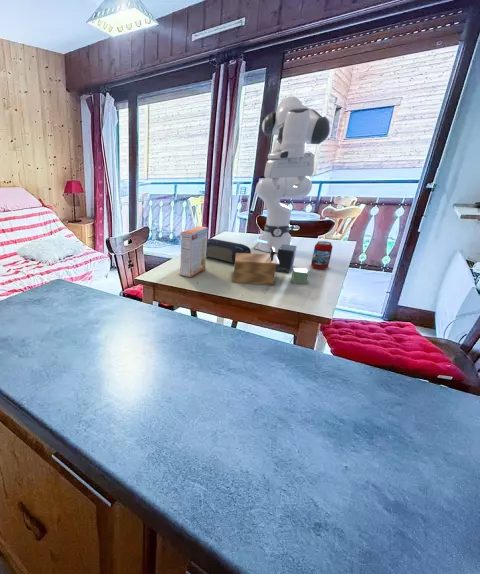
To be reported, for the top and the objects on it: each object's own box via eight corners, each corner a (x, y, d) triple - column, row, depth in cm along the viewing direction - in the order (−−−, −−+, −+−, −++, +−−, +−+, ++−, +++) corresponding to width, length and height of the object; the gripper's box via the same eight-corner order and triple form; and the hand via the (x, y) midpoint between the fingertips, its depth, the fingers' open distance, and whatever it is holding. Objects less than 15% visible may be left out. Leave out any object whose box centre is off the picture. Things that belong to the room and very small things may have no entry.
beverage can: (309, 268, 152) (314, 243, 148) (312, 264, 157) (317, 240, 152) (326, 271, 148) (331, 245, 143) (329, 266, 152) (334, 242, 148)
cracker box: (194, 267, 162) (196, 225, 154) (205, 269, 158) (208, 227, 150) (178, 275, 153) (180, 231, 146) (190, 277, 149) (192, 233, 141)
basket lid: (276, 256, 143) (278, 245, 141) (279, 265, 132) (281, 253, 131) (235, 254, 149) (236, 243, 147) (235, 262, 139) (236, 251, 137)
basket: (270, 275, 147) (273, 256, 144) (273, 285, 136) (276, 265, 133) (233, 272, 153) (235, 254, 149) (232, 281, 142) (235, 262, 139)
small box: (289, 273, 148) (293, 250, 144) (273, 270, 152) (277, 249, 148) (293, 266, 156) (297, 245, 152) (278, 264, 159) (281, 243, 155)
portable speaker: (197, 257, 177) (199, 239, 174) (209, 253, 183) (210, 235, 179) (240, 267, 158) (242, 247, 155) (251, 263, 164) (254, 243, 160)
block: (291, 278, 142) (293, 268, 140) (304, 279, 140) (306, 268, 138) (292, 282, 137) (294, 271, 136) (306, 284, 136) (308, 272, 134)
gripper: (308, 152, 136) (302, 186, 141) (264, 154, 133) (259, 189, 138) (321, 151, 130) (314, 187, 135) (274, 154, 127) (269, 190, 132)
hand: (286, 188), depth 136 cm, fingers open, 8 cm apart
